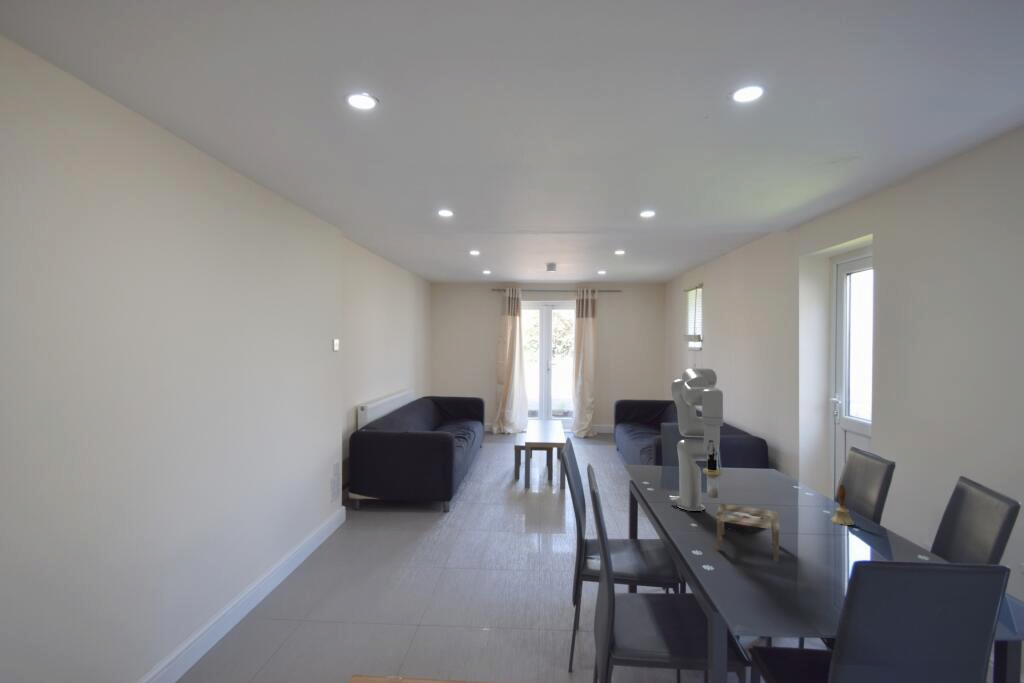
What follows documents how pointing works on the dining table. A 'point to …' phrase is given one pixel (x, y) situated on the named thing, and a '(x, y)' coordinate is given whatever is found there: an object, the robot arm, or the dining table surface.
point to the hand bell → (842, 510)
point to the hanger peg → (712, 480)
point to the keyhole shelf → (749, 523)
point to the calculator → (740, 527)
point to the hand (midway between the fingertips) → (712, 468)
